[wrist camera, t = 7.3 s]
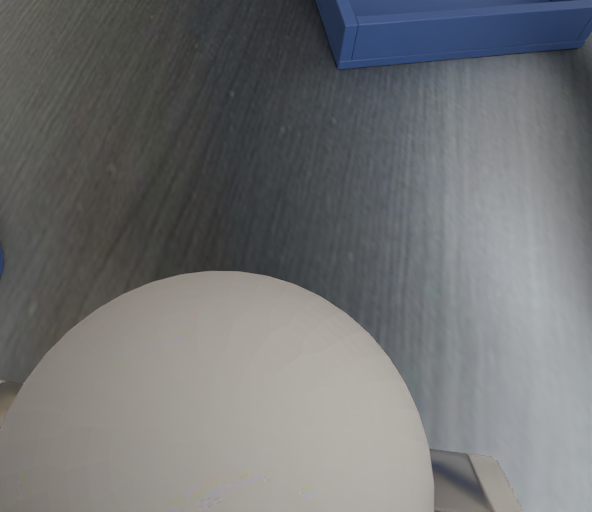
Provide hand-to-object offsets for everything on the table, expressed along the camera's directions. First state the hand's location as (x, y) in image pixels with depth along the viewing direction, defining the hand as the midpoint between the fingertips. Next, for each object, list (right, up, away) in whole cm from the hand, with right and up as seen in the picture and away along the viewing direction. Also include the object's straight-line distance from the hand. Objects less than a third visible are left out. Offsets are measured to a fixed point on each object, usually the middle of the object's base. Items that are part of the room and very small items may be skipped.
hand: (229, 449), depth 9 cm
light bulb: (0, -3, +5) cm, 6 cm away
